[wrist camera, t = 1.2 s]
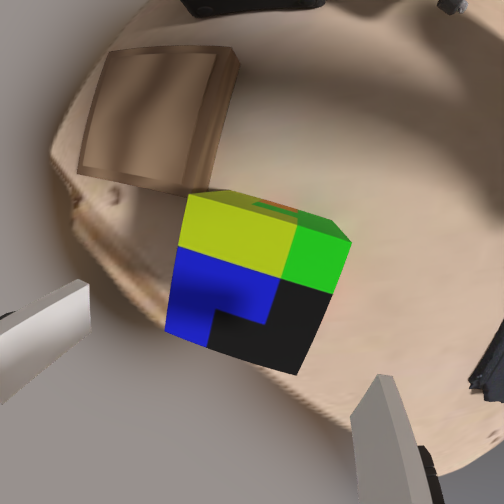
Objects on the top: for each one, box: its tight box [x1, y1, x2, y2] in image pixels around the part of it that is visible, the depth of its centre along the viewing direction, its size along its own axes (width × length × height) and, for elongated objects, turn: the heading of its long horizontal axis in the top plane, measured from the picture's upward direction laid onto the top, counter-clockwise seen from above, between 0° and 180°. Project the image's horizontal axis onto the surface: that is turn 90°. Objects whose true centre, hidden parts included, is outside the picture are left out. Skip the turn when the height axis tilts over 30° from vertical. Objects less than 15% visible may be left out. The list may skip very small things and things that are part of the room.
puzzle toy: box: [165, 190, 352, 375], centre depth 22 cm, size 10×10×10 cm
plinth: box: [77, 45, 241, 198], centre depth 23 cm, size 14×14×4 cm
